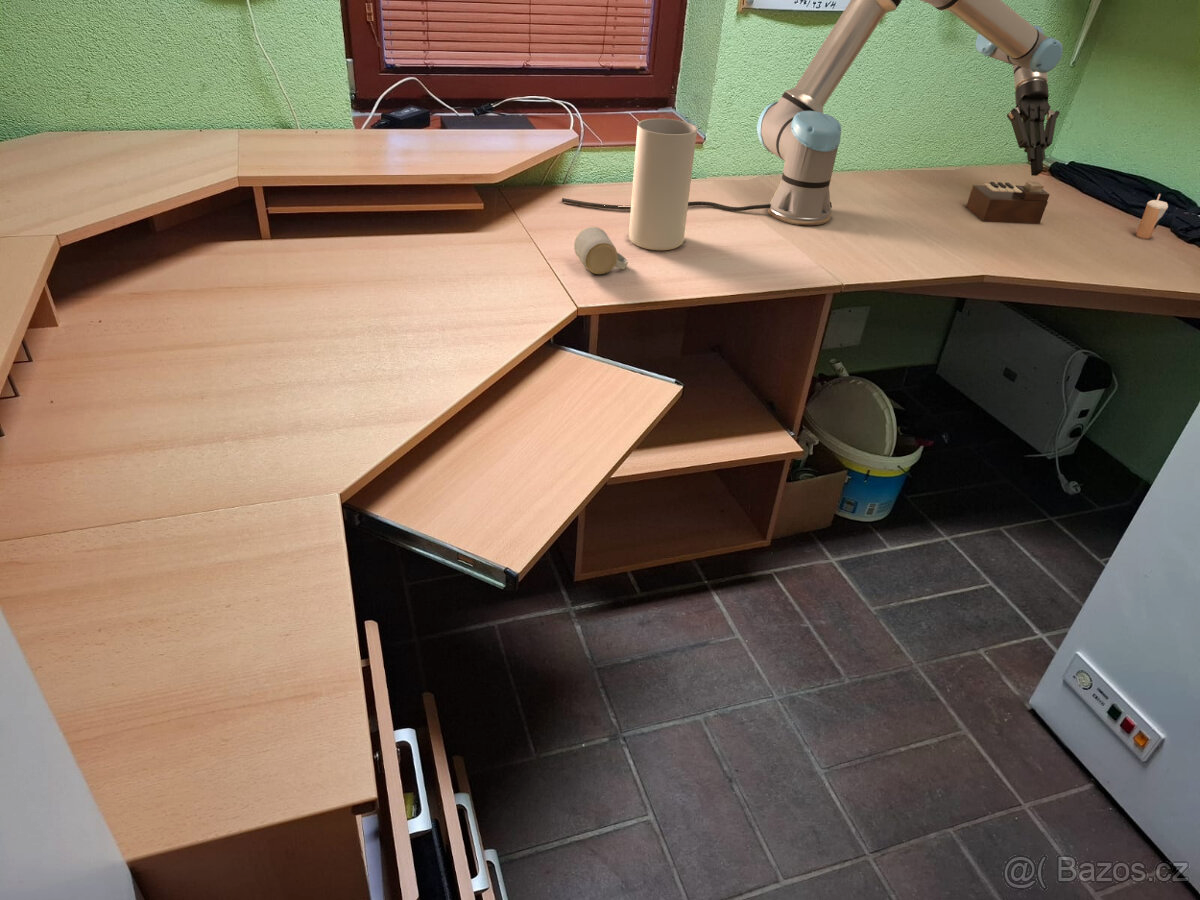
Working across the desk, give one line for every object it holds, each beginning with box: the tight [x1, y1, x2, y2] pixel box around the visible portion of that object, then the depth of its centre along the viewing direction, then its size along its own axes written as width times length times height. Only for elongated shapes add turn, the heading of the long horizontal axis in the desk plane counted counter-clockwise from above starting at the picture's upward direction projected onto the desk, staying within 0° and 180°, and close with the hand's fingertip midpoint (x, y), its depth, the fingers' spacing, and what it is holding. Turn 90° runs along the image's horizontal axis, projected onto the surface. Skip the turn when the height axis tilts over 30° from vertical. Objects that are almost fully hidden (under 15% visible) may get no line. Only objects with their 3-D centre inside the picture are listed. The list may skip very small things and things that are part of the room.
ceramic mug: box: [573, 226, 629, 275], centre depth 168 cm, size 11×8×8 cm
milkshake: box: [1135, 193, 1169, 240], centre depth 203 cm, size 5×5×10 cm
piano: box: [965, 184, 1051, 225], centre depth 210 cm, size 15×11×8 cm
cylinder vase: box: [628, 118, 698, 251], centre depth 177 cm, size 12×12×25 cm
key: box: [1023, 181, 1045, 193], centre depth 206 cm, size 3×3×2 cm
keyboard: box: [983, 181, 1022, 193], centre depth 206 cm, size 8×5×1 cm
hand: (1037, 172), depth 205 cm, fingers closed
